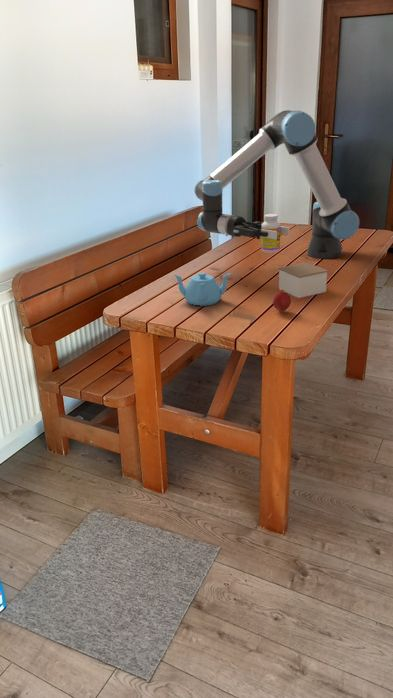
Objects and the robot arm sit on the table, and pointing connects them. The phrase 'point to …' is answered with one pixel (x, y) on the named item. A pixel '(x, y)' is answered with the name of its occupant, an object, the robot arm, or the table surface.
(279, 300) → the onion
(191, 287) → the teapot
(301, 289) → the riser block
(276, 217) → the supplement bottle
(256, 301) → the table surface
